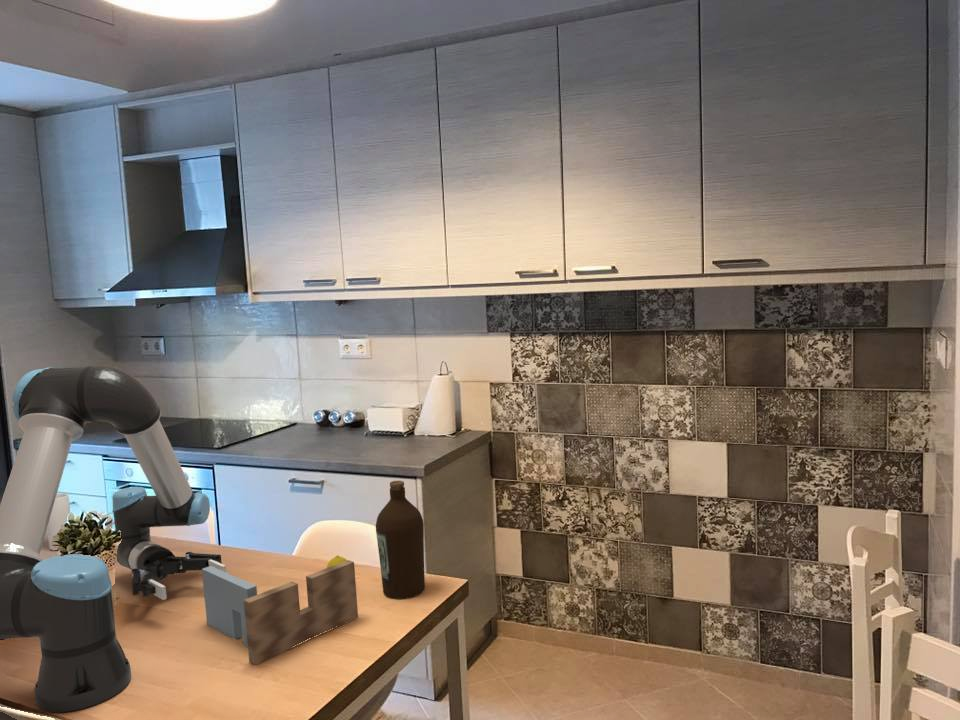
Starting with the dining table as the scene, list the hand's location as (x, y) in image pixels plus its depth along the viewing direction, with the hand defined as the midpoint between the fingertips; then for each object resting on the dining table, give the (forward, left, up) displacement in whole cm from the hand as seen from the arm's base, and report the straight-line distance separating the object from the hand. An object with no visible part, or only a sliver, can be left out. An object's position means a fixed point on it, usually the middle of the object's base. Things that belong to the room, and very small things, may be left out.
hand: (195, 582), depth 159 cm
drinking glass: (+30, +71, -8) cm, 77 cm away
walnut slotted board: (-5, -29, -7) cm, 31 cm away
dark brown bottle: (+20, -39, -8) cm, 45 cm away
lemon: (+18, -24, -8) cm, 31 cm away
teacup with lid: (+30, +56, -8) cm, 64 cm away
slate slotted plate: (-6, -13, -7) cm, 17 cm away
